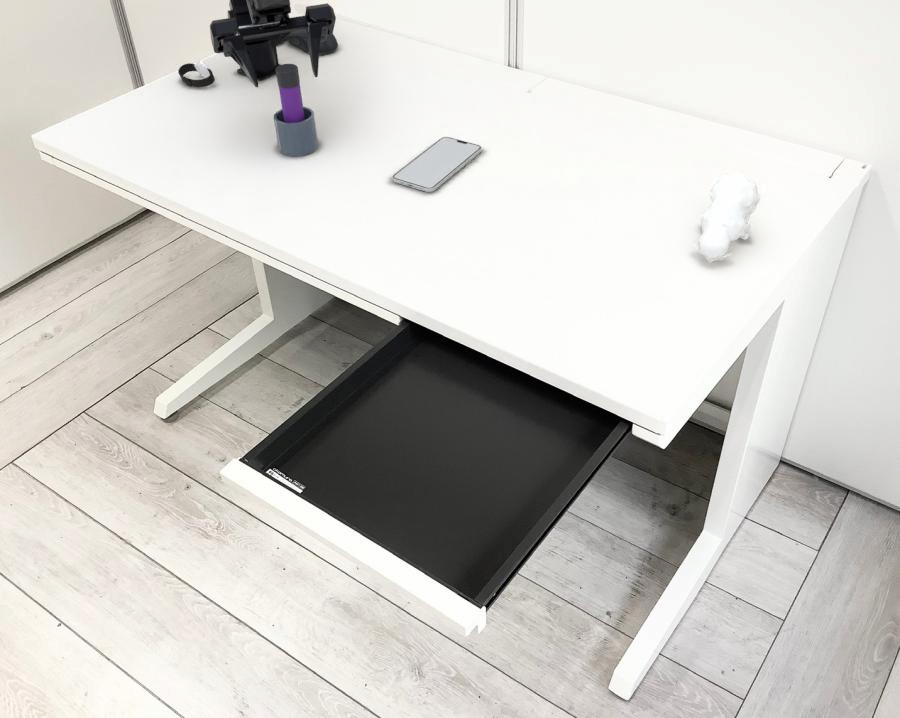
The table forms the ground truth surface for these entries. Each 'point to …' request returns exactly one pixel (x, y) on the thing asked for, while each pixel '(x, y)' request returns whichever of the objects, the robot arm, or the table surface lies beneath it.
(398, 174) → the smartphone
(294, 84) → the glue stick
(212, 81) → the watch
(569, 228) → the table surface
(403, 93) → the table surface
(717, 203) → the white animal figurine
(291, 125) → the pen holder
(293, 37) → the computer mouse
